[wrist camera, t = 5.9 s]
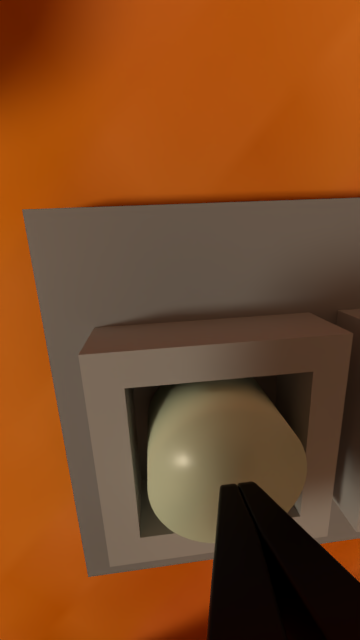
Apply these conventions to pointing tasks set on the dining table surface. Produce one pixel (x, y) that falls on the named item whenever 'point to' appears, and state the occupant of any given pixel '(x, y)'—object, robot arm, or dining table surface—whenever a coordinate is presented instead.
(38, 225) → the panel
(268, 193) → the dining table surface
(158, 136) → the dining table surface
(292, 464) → the button sage
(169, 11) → the dining table surface
